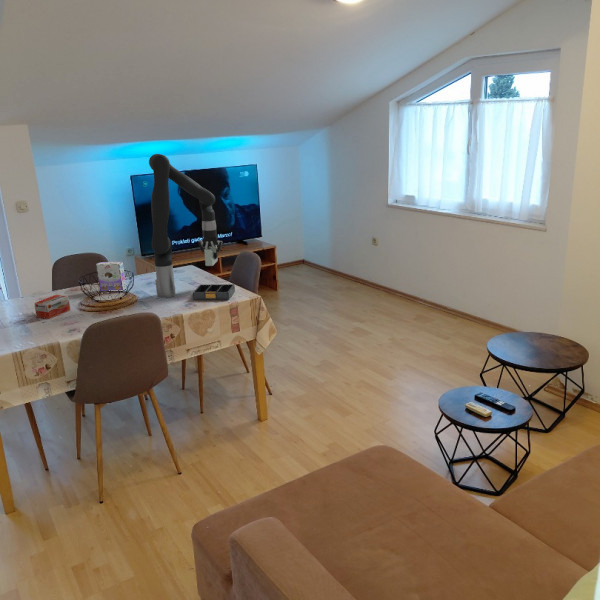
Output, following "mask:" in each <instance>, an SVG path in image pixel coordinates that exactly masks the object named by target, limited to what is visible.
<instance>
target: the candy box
mask: <svg viewBox="0 0 600 600" xmlns="http://www.w3.org/2000/svg"><path fill="white" fill-rule="evenodd" d="M95 269H96V274H97V281H98V287H99V292H100V291H109V290H124V291H126V290H127V283H126V282H127V281H126V277H125V270H124V269H125V268H124V263H123V261H102V262H98V263H96V264H95ZM125 289H126V290H125Z"/></svg>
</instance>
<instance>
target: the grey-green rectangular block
mask: <svg viewBox="0 0 600 600" xmlns="http://www.w3.org/2000/svg"><path fill="white" fill-rule="evenodd" d="M217 245H218V244H216V248H217V249H218V246H217ZM204 249H205V248H204ZM204 252H205V253H204ZM204 252H203V253H204V262H205V266H206V267H213V266H214V265H215V264H216V263H217V262H218V260H219V259H218V258H219V257H218V256H217V258H216V259H214V249H213V248H212V247H208V248H206V249H205V250H204Z"/></svg>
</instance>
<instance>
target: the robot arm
mask: <svg viewBox="0 0 600 600" xmlns="http://www.w3.org/2000/svg"><path fill="white" fill-rule="evenodd" d="M148 165H149V167H150V169H151V170H152V172H153V180H154V181H153V188H152V193H151V199H150V201H151V203H150V206H151V209H150V210H151V220H152V239H151V248H152V250H153V251H154V268H155V276H156V277H155V278H156V279H155V281H154V282H155V289H156V296H157V298H163V299H165V298H171V297H175V296H176V286H175V284H176V283H175V277H174V276H175V275H174V268H173V267H174V266H173V251H172V242H171V239H170V238H169V236H168V223H169V219H170V218H169V217H170V185H169V181H172V182H173V183H174V184H176V185H177V186H179V187H180V188H181V189H183V190H184V191H185V192H186V193H188V194H189V195H191V196H192V197H194V198H196V199H198V202H199V207H200V211H201V228H202V240H199V241H198V242H197V244H198V247H199V249H200V250H201V252H202V253H204V254H205V252H204V250H205V249H206V248H208V247H212V248H213V249H214V259H216V258H217V257H218V253H219V252H220V251H221V249H222V246H223V240H219V239H218V236H217V235H218V233H217V223H216V216H215V215H216V214H215V210H214V209H213V205H214V204H215V203H216V196H215V195H214V194H213V192H211V191H209V190H208V189H206V188H205V187H202V186H201V185H200V184H199V183H198V182H196V181H195V180H194V179H192V178H191V177H190V176H188V175H186V174H185V173H183V172H182V171H180V170H178V169H177V168H175V166H173V165H172V164H171V163H170V160H169V157H167V156H166V155H164V154H161V153H154V154H152V155H151V156H150V157H149V159H148ZM216 245H218V246H217V248H216ZM204 246H205V247H204Z"/></svg>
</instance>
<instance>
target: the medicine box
mask: <svg viewBox="0 0 600 600" xmlns="http://www.w3.org/2000/svg"><path fill="white" fill-rule="evenodd" d="M34 310H35V315H36V318H37V319H38V318H39V319H46V320H50V319H53V318H55V317H57V316H60V315H62V314H64V313H66V312H69V311H71V304H70V300H69V296H68V295H63V294H54V295H52V296H49V297H47V298H43V299H41V300H38V301H36V302H34Z"/></svg>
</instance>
